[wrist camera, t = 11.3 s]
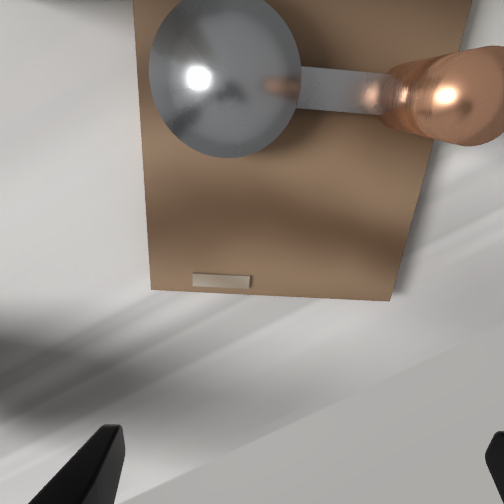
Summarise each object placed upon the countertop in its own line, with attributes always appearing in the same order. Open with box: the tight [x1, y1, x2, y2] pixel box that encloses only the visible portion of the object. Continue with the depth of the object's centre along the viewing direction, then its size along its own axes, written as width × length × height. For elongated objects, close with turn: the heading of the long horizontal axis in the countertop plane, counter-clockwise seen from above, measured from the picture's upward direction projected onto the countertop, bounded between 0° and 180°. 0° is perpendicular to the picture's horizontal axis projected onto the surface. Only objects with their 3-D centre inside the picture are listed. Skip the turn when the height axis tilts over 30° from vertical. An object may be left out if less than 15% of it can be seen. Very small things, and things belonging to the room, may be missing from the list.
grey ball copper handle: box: [149, 0, 504, 158], centre depth 13 cm, size 12×6×6 cm, turn 86°
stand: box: [133, 0, 472, 301], centre depth 15 cm, size 21×14×3 cm, turn 176°
